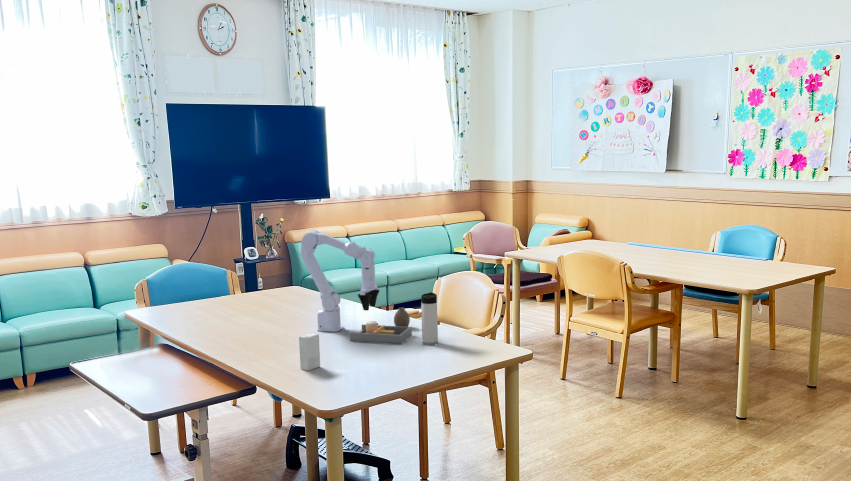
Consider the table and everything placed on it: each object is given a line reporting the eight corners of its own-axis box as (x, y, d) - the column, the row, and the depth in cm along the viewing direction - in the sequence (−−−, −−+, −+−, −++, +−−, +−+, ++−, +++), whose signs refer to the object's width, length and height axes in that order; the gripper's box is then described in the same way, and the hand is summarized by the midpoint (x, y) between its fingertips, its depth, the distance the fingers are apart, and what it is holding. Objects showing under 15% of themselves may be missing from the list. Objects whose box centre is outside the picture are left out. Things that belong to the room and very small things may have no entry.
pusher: (373, 339, 277) (372, 331, 277) (382, 332, 288) (382, 325, 287) (389, 340, 275) (389, 332, 275) (398, 333, 286) (398, 326, 285)
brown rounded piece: (407, 330, 294) (407, 310, 293) (392, 329, 296) (391, 309, 295) (411, 326, 301) (410, 306, 300) (396, 325, 302) (395, 306, 301)
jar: (364, 337, 282) (364, 323, 281) (368, 334, 286) (368, 320, 286) (376, 338, 280) (375, 324, 280) (379, 335, 285) (379, 321, 284)
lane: (349, 341, 279) (349, 332, 278) (362, 332, 292) (362, 324, 292) (401, 344, 272) (400, 335, 272) (411, 335, 286) (411, 327, 285)
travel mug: (440, 341, 275) (439, 292, 273) (435, 345, 269) (433, 296, 266) (425, 340, 277) (424, 292, 275) (420, 344, 271) (418, 295, 268)
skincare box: (312, 364, 248) (311, 332, 247) (321, 367, 245) (319, 334, 244) (299, 369, 244) (298, 335, 242) (307, 371, 241) (306, 337, 239)
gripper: (370, 280, 286) (371, 312, 288) (383, 274, 300) (383, 305, 301) (355, 280, 288) (356, 311, 290) (368, 274, 302) (369, 304, 304)
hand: (369, 308), depth 296 cm, fingers open, 7 cm apart
